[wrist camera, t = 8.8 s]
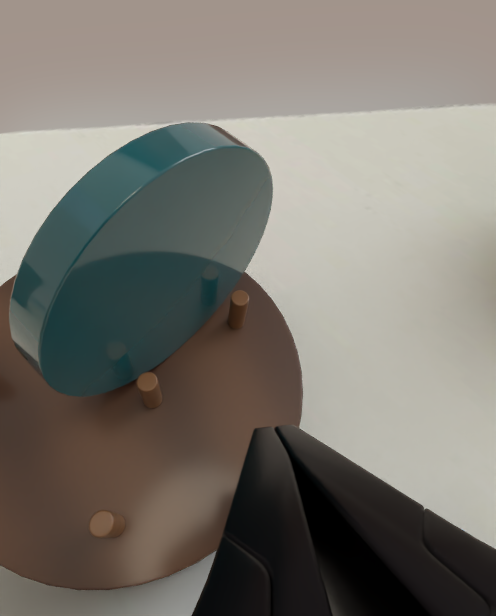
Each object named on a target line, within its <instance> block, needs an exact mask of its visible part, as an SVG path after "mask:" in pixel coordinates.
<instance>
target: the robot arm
mask: <svg viewBox="0 0 496 616" xmlns="http://www.w3.org/2000/svg"><path fill="white" fill-rule="evenodd" d="M192 616H496V549H494V548H492V547H491V546H489V545H487V544H485V543H483V542H482V541H480V540H478V539H476V538H475V537H473V536H471V535H470V534H468V533H466V532H465V531H463V530H461V529H460V528H458V527H456V526H455V525H453V524H451V523H450V522H448V521H446V520H445V519H443V518H442V517H440V516H438V515H437V514H435V513H434V512H432V511H430V510H429V509H425V510H424V507H423V506H422V505H421V504H419V503H417V502H416V501H414V500H413V499H411V498H409V497H408V496H406V495H405V494H403V493H401V492H400V491H398V490H397V489H395V488H393V487H392V486H390V485H389V484H387V483H386V482H384V481H382V480H381V479H379V478H378V477H376V476H374V475H373V474H371V473H370V472H368V471H366V470H365V469H363V468H362V467H360V466H358V465H357V464H355V463H354V462H352V461H350V460H349V459H347V458H346V457H344V456H343V455H341V454H339V453H338V452H336V451H335V450H333V449H331V448H330V447H328V446H327V445H325V444H323V443H322V442H320V441H319V440H317V439H315V438H314V437H312V436H311V435H309V434H307V433H306V432H304V431H303V430H301V429H299V428H298V427H296V426H295V425H281V426H276V427H275V428H273V427H260V428H255V429H254V430H253V433H252V436H251V440H250V443H249V446H248V450H247V453H246V456H245V460H244V463H243V466H242V470H241V473H240V476H239V480H238V483H237V486H236V490H235V493H234V496H233V500H232V503H231V506H230V510H229V513H228V516H227V520H226V523H225V526H224V530H223V533H222V537H221V539H220V542H219V545H218V549H217V552H216V555H215V558H214V561H213V564H212V567H211V570H210V573H209V575H208V578H207V581H206V584H205V586H204V588H203V591H202V593H201V595H200V598H199V600H198V602H197V605H196V607H195V609H194V612H193V614H192Z"/></svg>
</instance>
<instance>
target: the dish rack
mask: <svg viewBox="0 0 496 616" xmlns="http://www.w3.org/2000/svg"><path fill="white" fill-rule="evenodd" d="M272 198H273V183H272V176H271V172H270V169H269V167H268V165H267V163H266V162H265V160H264V158H263V157H262V156H261V155H260V154H259V153H258V152H256V151H255V150H254V149H252V148H251V147H249V146H248V145H246V144H245V143H243V142H242V141H240V140H239V139H238V138H236V137H235V136H233V135H232V134H230V133H229V132H227V131H225V130H223V129H222V128H220V127H218V126H214V125H210V124H206V123H189V122H188V123H181V124H175V125H170V126H167V127H163V128H160V129H157V130H154V131H151V132H149V133H147V134H145V135H143V136H141V137H139V138H137V139H135V140H132V141H130V142H129V143H127V144H126V145H124V146H123V147H121V148H119V149H118V150H116V151H115V152H113V153H112V154H110V155H109V156H107V157H106V158H105V159H104V160H102V161H101V162H100V163H99V164H97V165H96V166H95V167H94V168H92V169H91V170H90V171H89V172H87V173H86V174H85V175H84V176H83V177H82V178H81V179H80V180H79V181H78V182H77V183H76V184H75V185H74V186H73V187H72V188H71V189H70V190H69V191H68V192H67V193H66V195H65V196H64V197H63V198H62V199H61V201H60V202H59V203H58V204H57V205H56V207H55V208H54V209H53V210H52V211H51V213H50V214H49V216H48V217H47V218H46V220H45V221H44V223H43V224H42V226H41V227H40V229H39V230H38V232H37V233H36V235H35V236H34V238H33V240H32V242H31V244H30V246H29V248H28V250H27V252H26V254H25V256H24V257H23V260H22V262H21V265H20V268H19V270H18V273H17V274H16V275H15V276H14V277H12V278H11V279H9V280H8V281H7V282H5V283H4V284H3V285H2V286H0V565H1V566H3V567H5V568H7V569H8V570H10V571H12V572H14V573H16V574H18V575H20V576H22V577H25V578H28V579H31V580H34V581H37V582H40V583H43V584H46V585H49V586H56V587H62V588H68V589H75V590H112V589H118V588H125V587H131V586H138V585H142V584H145V583H148V582H151V581H154V580H158V579H161V578H164V577H167V576H170V575H172V574H174V573H176V572H178V571H181V570H183V569H185V568H187V567H189V566H191V565H193V564H195V563H197V562H199V561H200V560H202V559H203V558H205V557H206V556H208V555H209V554H211V553H213V552H214V551H216V550H217V549H218V545H219V542H220V539H221V537H222V533H223V530H224V526H225V523H226V520H227V516H228V513H229V510H230V506H231V503H232V500H233V496H234V493H235V490H236V486H237V483H238V480H239V476H240V473H241V470H242V466H243V463H244V460H245V456H246V453H247V450H248V446H249V443H250V440H251V436H252V433H253V430H254V429H255V428H260V427H273V428H275V427H276V426H281V425H295V426H296V427H298V428H299V424H300V419H301V412H302V398H303V388H302V372H301V367H300V362H299V357H298V352H297V349H296V346H295V343H294V340H293V337H292V334H291V332H290V330H289V328H288V326H287V324H286V322H285V320H284V317H283V315H282V314H281V312H280V311H279V309H278V308H277V306H276V305H275V303H274V302H273V300H272V299H271V298H270V297H269V296H268V294H267V293H266V292H265V291H264V290H263V289H262V287H261V286H260V285H259V284H258V283H257V282H256V281H254V280H253V279H252V278H251V277H250V276H249V275H248V274H247V273H245V272H244V271H245V270H246V268H247V266H248V264H249V263H250V261H251V259H252V257H253V255H254V253H255V251H256V249H257V247H258V245H259V243H260V240H261V238H262V236H263V233H264V230H265V227H266V225H267V222H268V218H269V214H270V210H271V204H272Z"/></svg>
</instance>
